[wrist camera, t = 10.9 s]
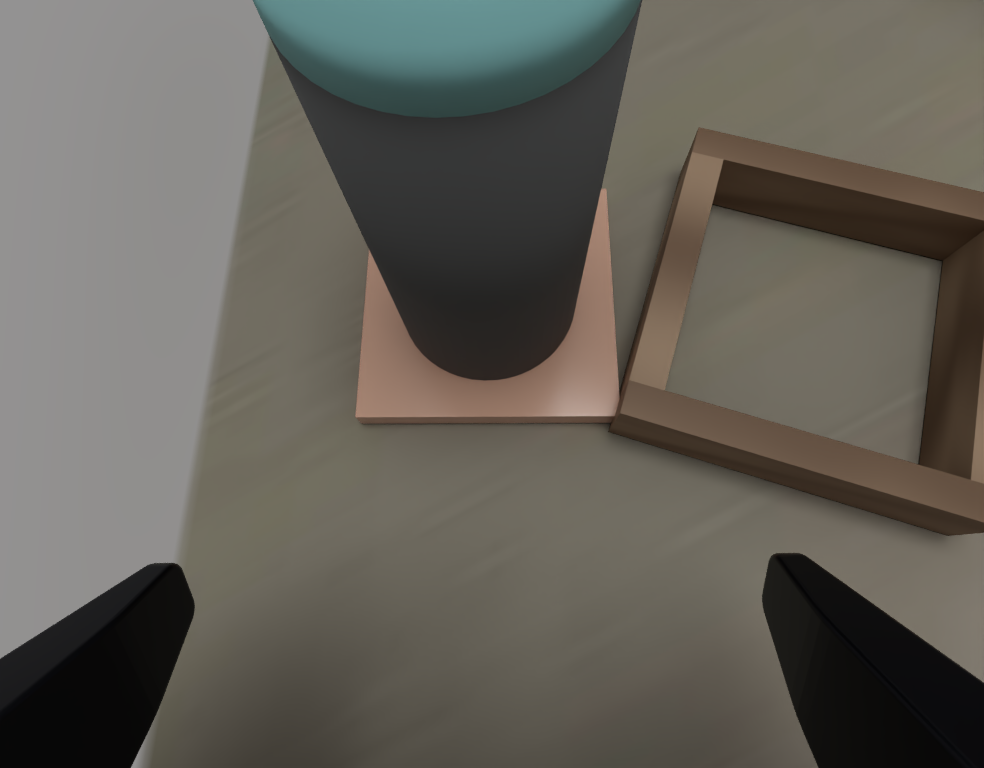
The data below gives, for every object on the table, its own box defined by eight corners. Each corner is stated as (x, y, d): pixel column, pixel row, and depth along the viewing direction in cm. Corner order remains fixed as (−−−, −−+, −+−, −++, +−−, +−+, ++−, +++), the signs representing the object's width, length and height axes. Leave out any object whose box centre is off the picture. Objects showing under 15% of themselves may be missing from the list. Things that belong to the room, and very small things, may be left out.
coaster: (616, 422, 18) (620, 416, 17) (362, 424, 19) (355, 417, 18) (603, 203, 21) (606, 188, 20) (378, 207, 21) (373, 193, 20)
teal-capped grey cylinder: (449, 412, 18) (322, 127, 6) (374, 267, 19) (165, -168, 8) (608, 329, 18) (757, -68, 7) (523, 196, 20) (529, -306, 8)
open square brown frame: (948, 535, 17) (1010, 530, 15) (608, 431, 18) (619, 412, 16) (977, 242, 20) (1032, 203, 18) (680, 172, 21) (698, 127, 19)
